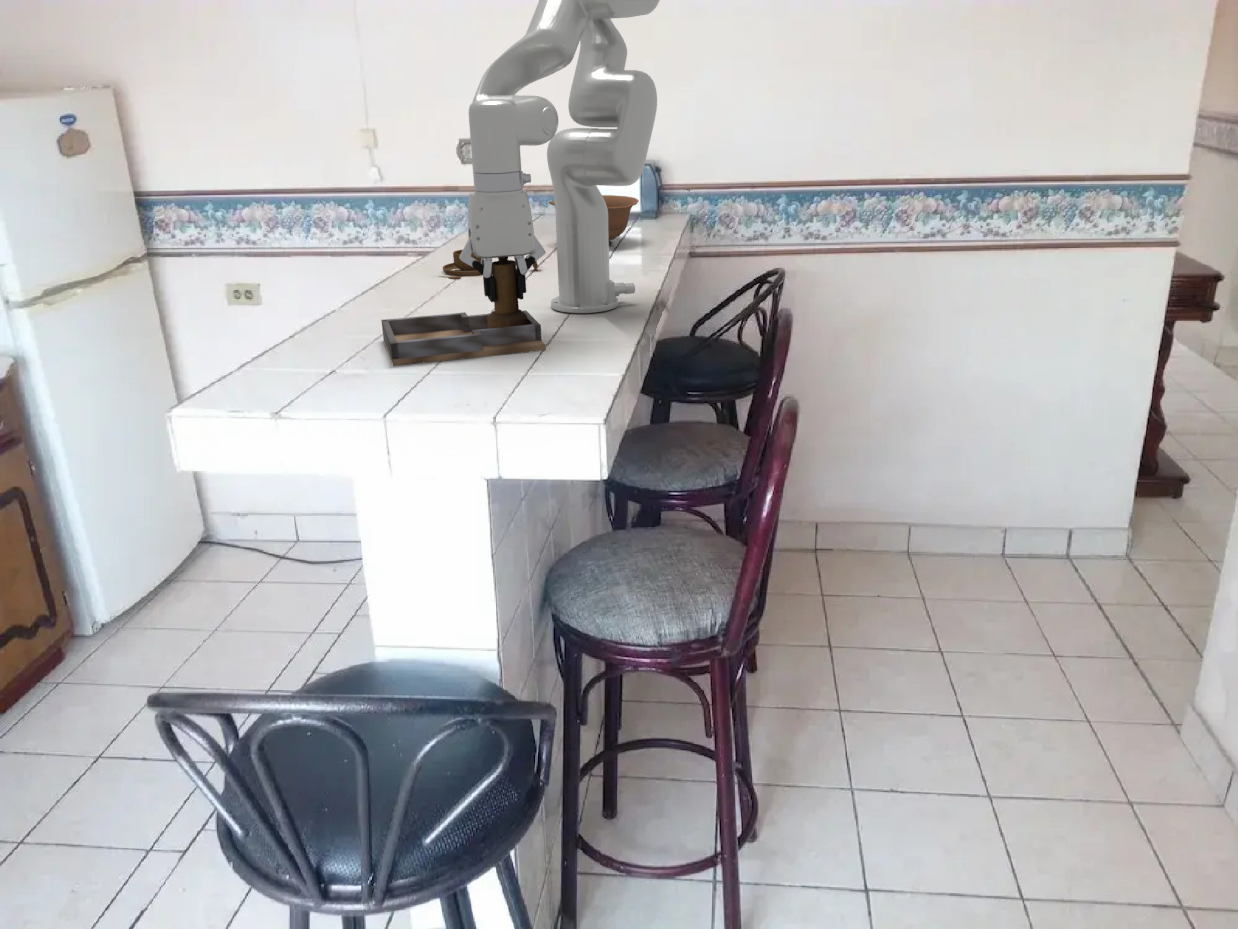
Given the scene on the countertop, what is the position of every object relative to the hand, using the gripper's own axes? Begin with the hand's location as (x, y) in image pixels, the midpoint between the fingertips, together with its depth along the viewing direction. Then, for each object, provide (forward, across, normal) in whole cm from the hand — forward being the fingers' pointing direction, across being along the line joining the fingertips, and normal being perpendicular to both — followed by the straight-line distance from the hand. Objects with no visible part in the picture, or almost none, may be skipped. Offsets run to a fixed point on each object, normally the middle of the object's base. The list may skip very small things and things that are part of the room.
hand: (505, 297), depth 165 cm
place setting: (+8, -7, -58) cm, 59 cm away
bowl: (+8, -38, -82) cm, 91 cm away
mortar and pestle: (+5, 0, 0) cm, 5 cm away
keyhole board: (+7, +8, 0) cm, 10 cm away
